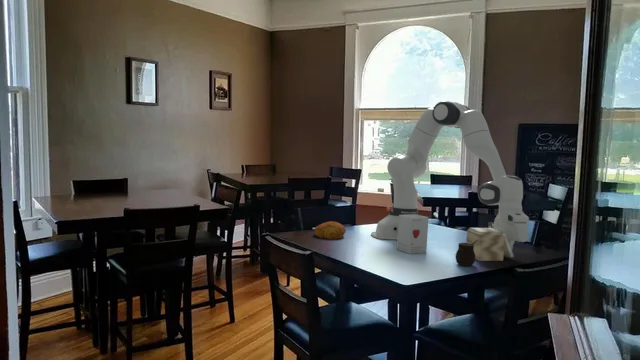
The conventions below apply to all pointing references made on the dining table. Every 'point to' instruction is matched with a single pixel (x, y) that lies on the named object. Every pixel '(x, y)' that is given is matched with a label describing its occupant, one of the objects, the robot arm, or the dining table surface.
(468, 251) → the mate gourd
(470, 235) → the block
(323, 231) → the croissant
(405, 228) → the supplement box
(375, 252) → the dining table surface
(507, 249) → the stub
